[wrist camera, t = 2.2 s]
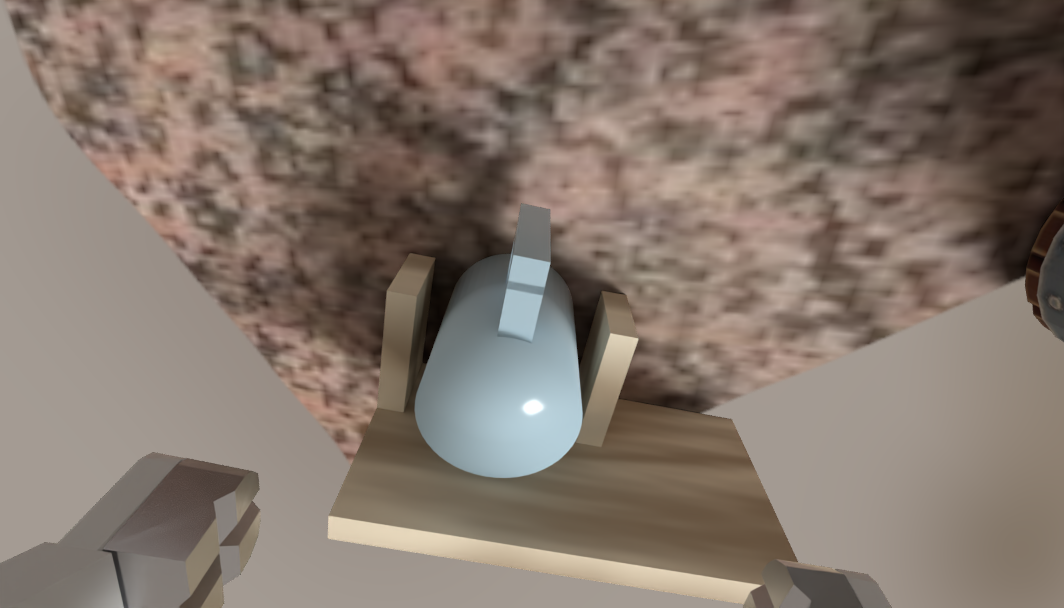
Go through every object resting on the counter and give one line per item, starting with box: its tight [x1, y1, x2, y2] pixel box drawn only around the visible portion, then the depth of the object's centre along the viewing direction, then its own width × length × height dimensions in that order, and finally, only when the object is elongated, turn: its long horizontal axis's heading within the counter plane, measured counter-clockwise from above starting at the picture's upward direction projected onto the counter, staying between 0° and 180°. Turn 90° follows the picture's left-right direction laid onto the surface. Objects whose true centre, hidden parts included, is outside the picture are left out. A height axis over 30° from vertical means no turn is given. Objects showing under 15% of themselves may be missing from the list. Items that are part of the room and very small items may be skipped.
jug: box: [415, 203, 583, 478], centre depth 22 cm, size 9×6×8 cm, turn 169°
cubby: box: [328, 253, 798, 604], centre depth 23 cm, size 7×18×10 cm, turn 79°
